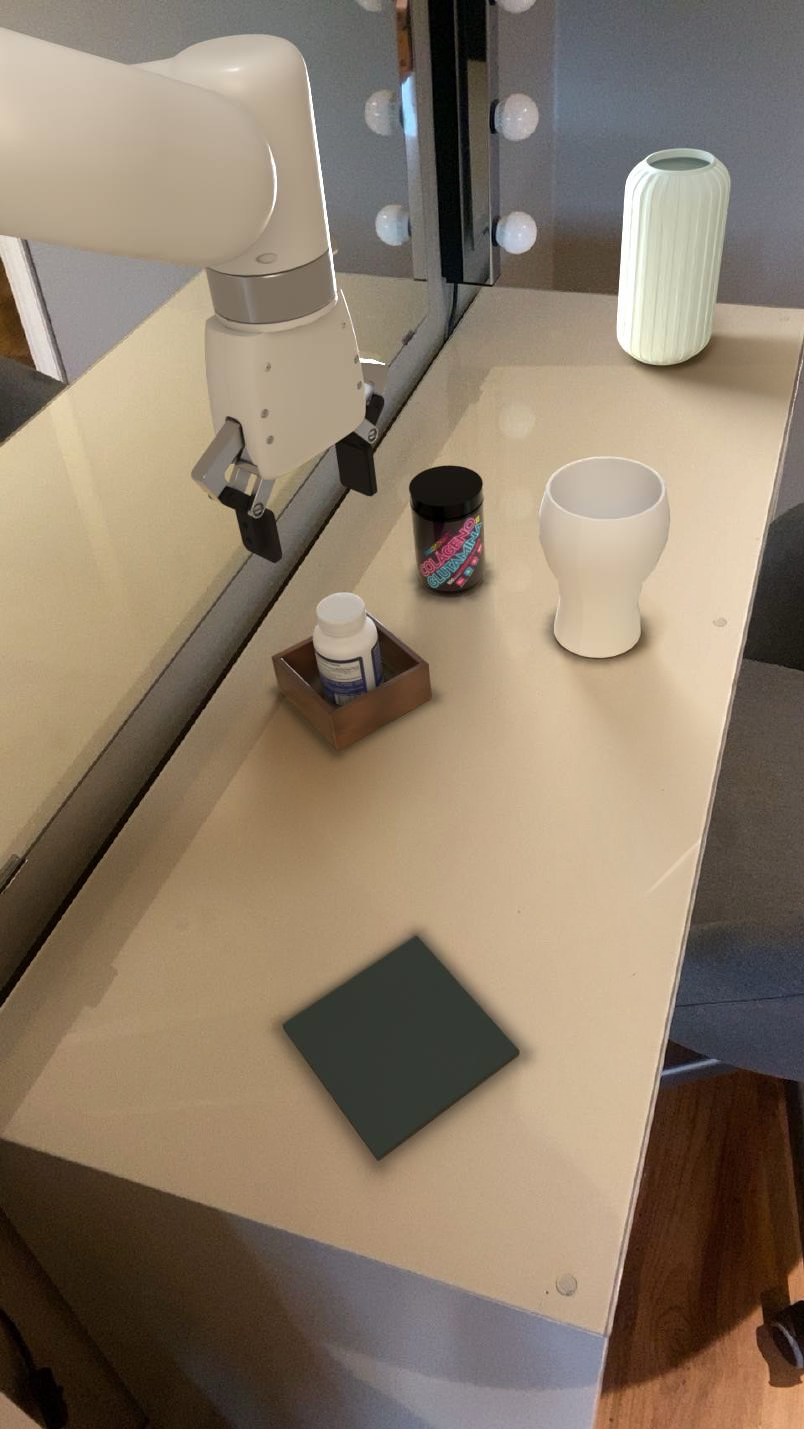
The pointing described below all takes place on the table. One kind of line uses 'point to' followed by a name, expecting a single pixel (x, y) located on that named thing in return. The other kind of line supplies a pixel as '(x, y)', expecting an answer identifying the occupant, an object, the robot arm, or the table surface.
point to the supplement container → (448, 529)
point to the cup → (602, 549)
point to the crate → (365, 709)
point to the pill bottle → (346, 649)
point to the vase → (671, 254)
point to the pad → (399, 1045)
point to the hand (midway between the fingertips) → (313, 521)
